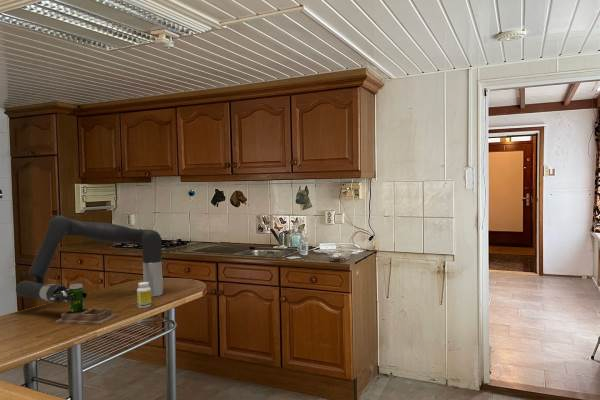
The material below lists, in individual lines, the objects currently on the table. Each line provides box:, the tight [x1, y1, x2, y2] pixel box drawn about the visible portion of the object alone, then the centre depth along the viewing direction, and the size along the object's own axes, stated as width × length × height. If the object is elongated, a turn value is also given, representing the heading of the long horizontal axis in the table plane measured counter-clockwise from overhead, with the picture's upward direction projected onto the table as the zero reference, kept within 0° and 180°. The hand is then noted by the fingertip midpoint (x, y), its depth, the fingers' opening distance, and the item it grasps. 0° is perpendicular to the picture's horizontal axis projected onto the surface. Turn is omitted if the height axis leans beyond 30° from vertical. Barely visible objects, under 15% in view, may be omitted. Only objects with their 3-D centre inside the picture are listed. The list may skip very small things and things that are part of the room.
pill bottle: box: [136, 281, 152, 309], centre depth 207 cm, size 6×6×11 cm
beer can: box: [68, 283, 85, 314], centre depth 189 cm, size 5×5×12 cm
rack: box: [54, 307, 118, 326], centre depth 189 cm, size 21×12×4 cm, turn 81°
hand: (80, 297), depth 188 cm, fingers closed on beer can, 5 cm apart
